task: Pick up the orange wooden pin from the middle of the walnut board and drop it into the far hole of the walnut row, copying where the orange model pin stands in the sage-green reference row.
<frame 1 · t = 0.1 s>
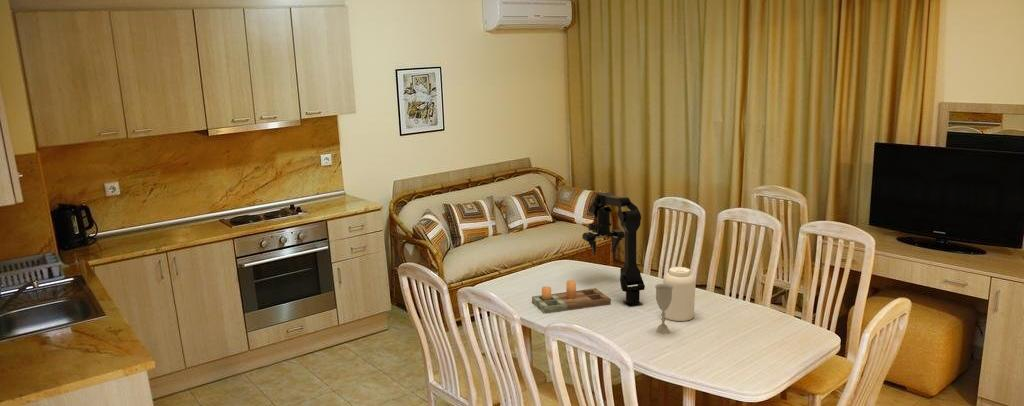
hand: (603, 253, 341), 15 cm above the table, tool pointing down, fingers open, 9 cm apart
model pin: (546, 303, 320), resting in pin board
orange pin: (571, 297, 319), point 2 cm above the table, touching pin board
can: (678, 316, 303), on the table
pin board: (571, 303, 320), on the table
chalice: (662, 331, 287), on the table
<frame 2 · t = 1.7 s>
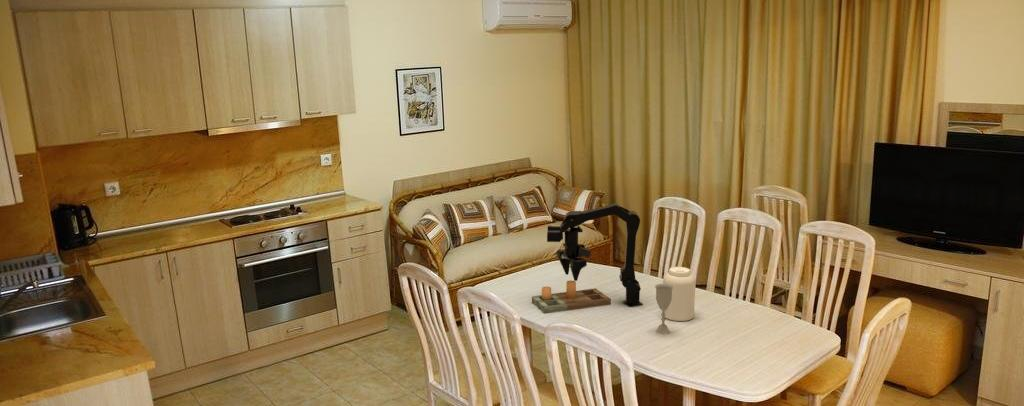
hand: (571, 277, 318), 11 cm above the table, tool pointing down, fingers open, 9 cm apart
nothing on the table moved.
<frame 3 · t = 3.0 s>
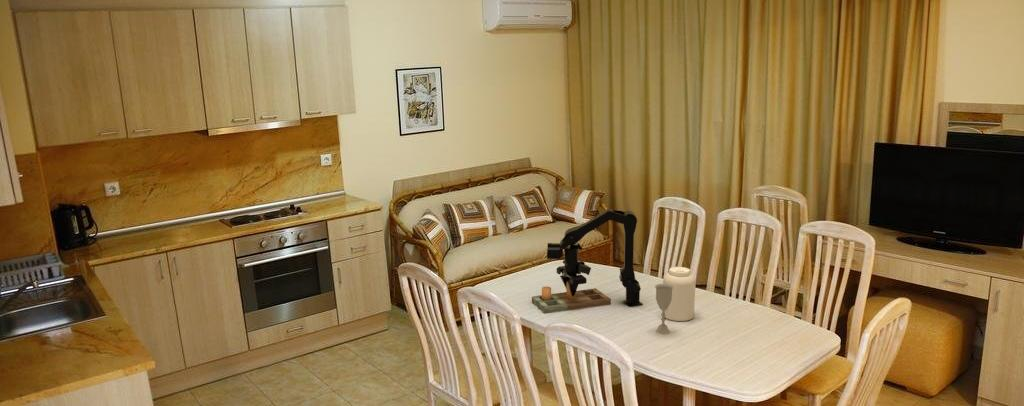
hand: (571, 294, 319), 4 cm above the table, tool pointing down, fingers closed on orange pin, 4 cm apart
orange pin: (571, 297, 319), point 2 cm above the table, touching gripper, pin board
everything else where it was.
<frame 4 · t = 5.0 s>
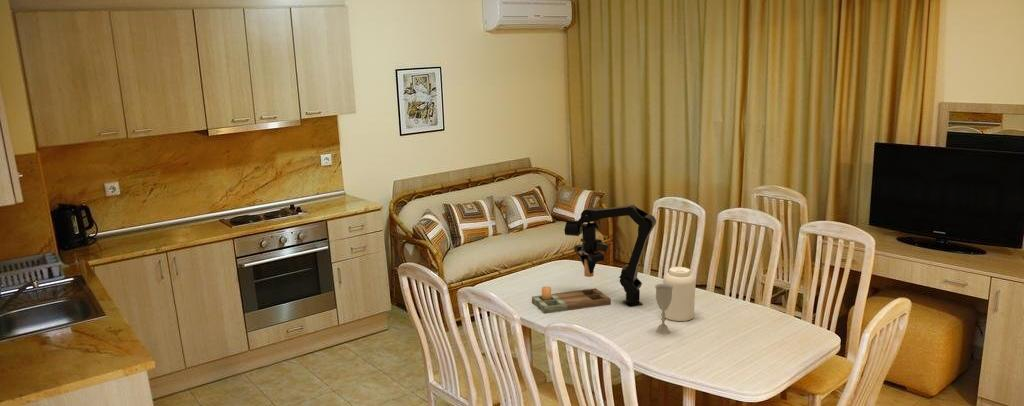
hand: (589, 272, 323), 12 cm above the table, tool pointing down, fingers closed on orange pin, 4 cm apart
orange pin: (589, 275, 324), point 10 cm above the table, touching gripper
everything else where it was.
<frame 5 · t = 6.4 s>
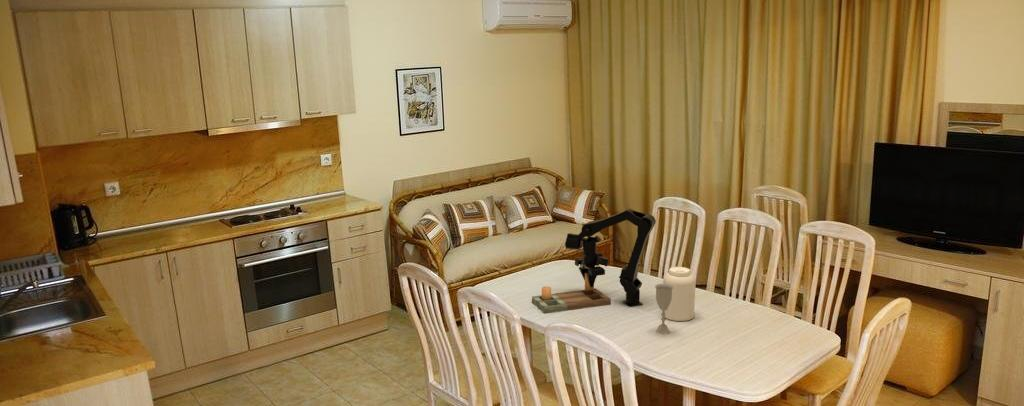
hand: (589, 285, 325), 6 cm above the table, tool pointing down, fingers closed on orange pin, 4 cm apart
orange pin: (589, 288, 325), point 4 cm above the table, touching gripper
everything else where it was.
when the fingers open (4 cm above the table, at t = 7.3 s): orange pin drops 2 cm, resting in pin board.
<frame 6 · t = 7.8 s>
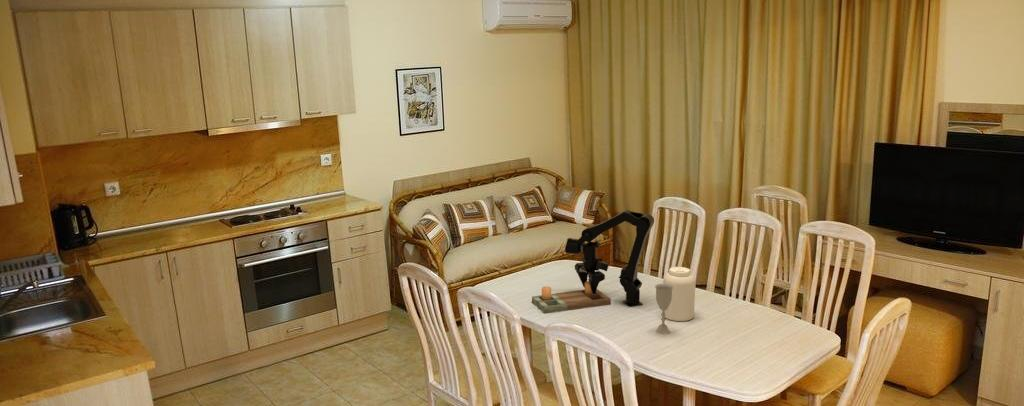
hand: (589, 290, 325), 4 cm above the table, tool pointing down, fingers open, 9 cm apart
orange pin: (589, 298, 326), resting in pin board
everything else where it was.
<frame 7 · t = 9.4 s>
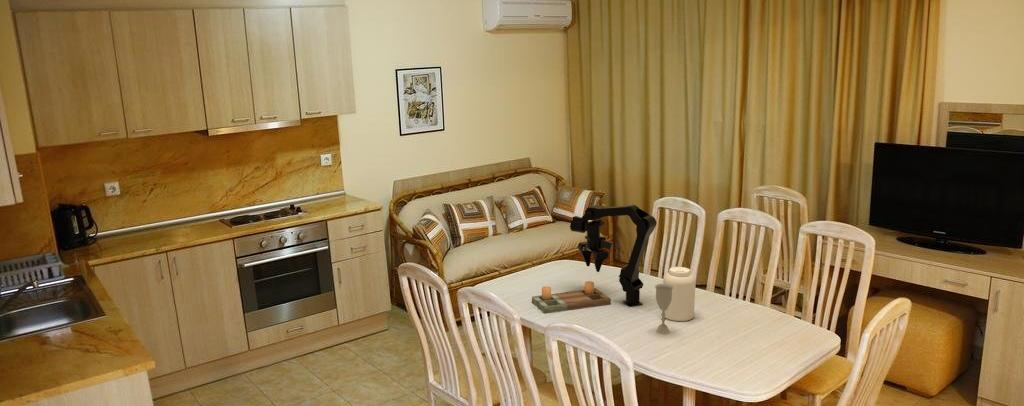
hand: (593, 269, 327), 12 cm above the table, tool pointing down, fingers open, 9 cm apart
nothing on the table moved.
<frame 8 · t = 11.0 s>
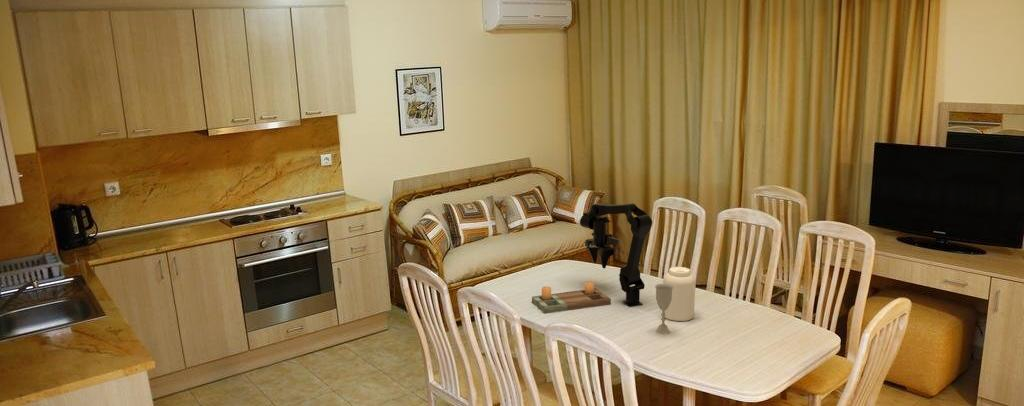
hand: (599, 265, 332), 12 cm above the table, tool pointing down, fingers open, 9 cm apart
nothing on the table moved.
at the end: orange pin 0.0 cm from the target spot on the pin board, point 0.0 cm above the pin board's base; orange pin tilted 0°; the gripper is holding nothing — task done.
